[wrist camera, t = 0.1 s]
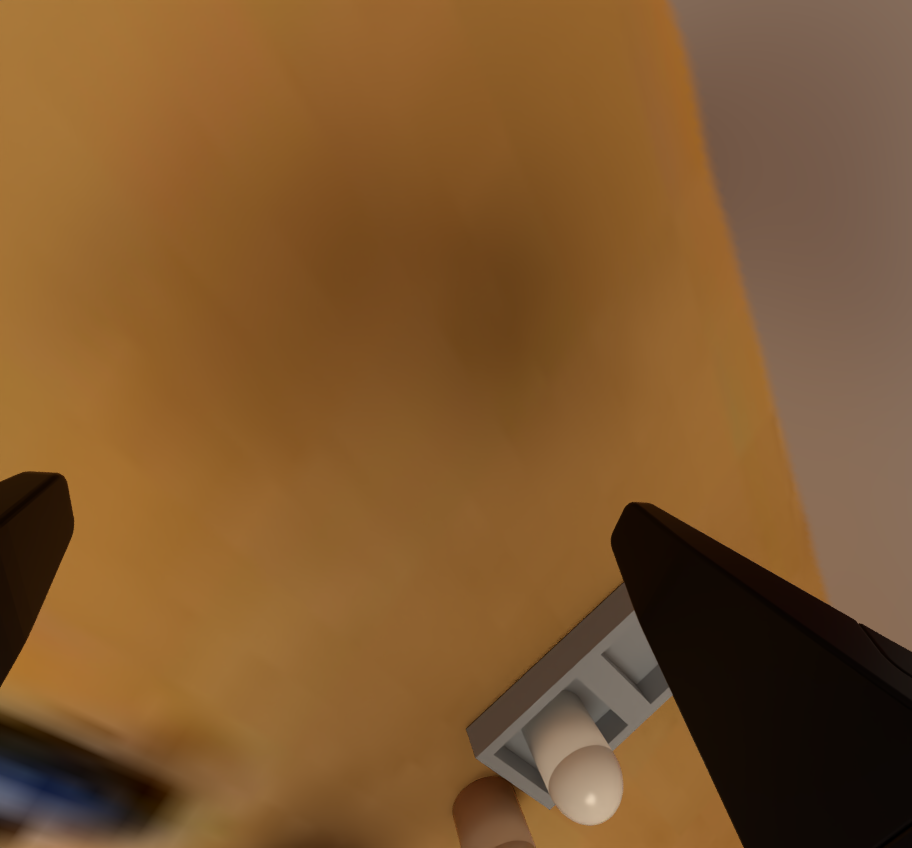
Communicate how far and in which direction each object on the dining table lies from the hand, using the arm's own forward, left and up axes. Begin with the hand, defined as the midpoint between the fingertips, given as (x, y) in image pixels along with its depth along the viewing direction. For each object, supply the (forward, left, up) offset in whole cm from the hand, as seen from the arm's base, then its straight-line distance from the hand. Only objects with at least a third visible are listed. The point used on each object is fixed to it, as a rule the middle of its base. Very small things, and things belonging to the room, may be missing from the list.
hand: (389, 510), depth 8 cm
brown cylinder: (-14, -28, -15) cm, 35 cm away
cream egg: (-6, -26, -15) cm, 30 cm away
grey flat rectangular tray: (-2, -26, -15) cm, 30 cm away
